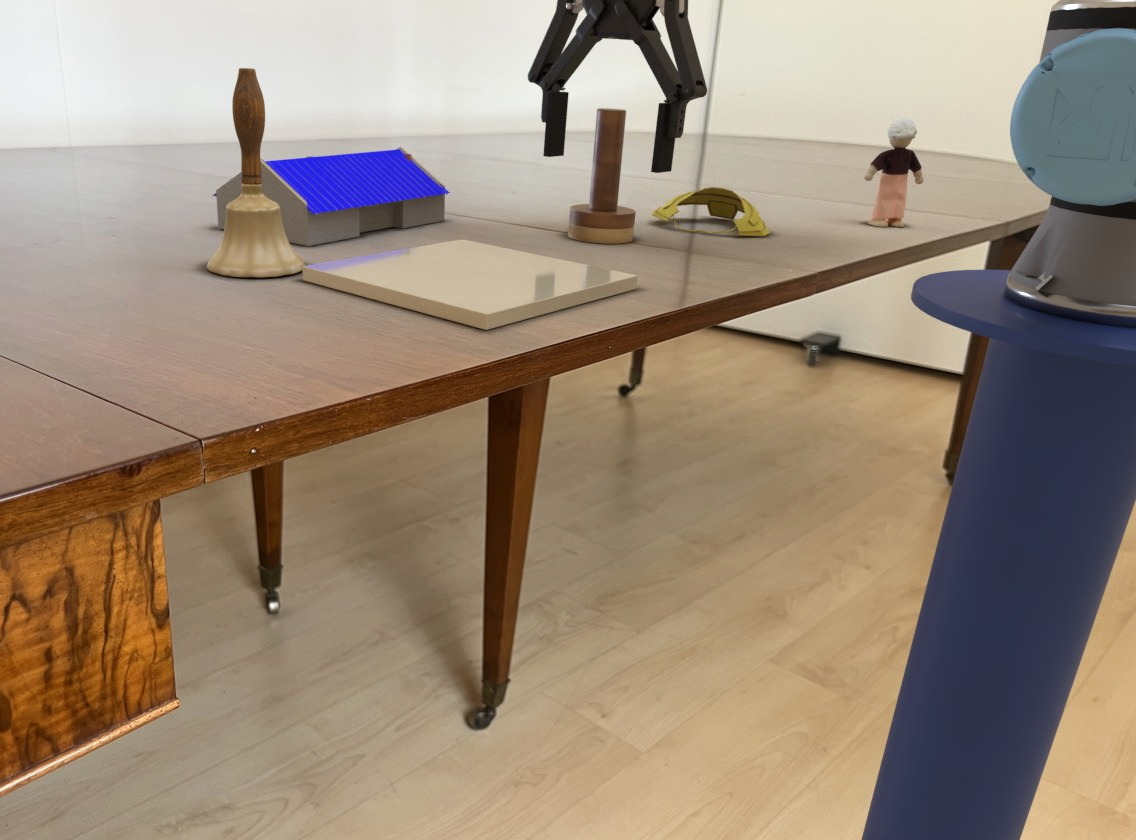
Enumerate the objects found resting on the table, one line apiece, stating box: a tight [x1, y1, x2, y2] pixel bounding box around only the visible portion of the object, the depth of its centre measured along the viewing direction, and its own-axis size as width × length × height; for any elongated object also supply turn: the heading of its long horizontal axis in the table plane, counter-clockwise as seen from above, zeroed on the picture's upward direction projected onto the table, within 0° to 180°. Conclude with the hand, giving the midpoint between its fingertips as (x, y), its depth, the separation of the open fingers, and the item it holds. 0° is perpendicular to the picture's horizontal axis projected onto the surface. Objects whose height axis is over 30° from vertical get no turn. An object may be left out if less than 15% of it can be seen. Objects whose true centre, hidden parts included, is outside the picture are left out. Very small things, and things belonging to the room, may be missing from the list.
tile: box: [302, 238, 638, 331], centre depth 84 cm, size 20×20×1 cm
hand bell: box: [206, 67, 307, 278], centre depth 83 cm, size 8×8×16 cm
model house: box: [212, 146, 451, 247], centre depth 105 cm, size 22×14×7 cm, turn 146°
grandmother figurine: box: [863, 117, 925, 228], centre depth 122 cm, size 8×4×13 cm, turn 111°
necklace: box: [651, 186, 771, 237], centre depth 116 cm, size 13×13×4 cm
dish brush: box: [567, 107, 637, 245], centre depth 105 cm, size 7×7×13 cm
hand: (605, 164), depth 104 cm, fingers open, 13 cm apart
